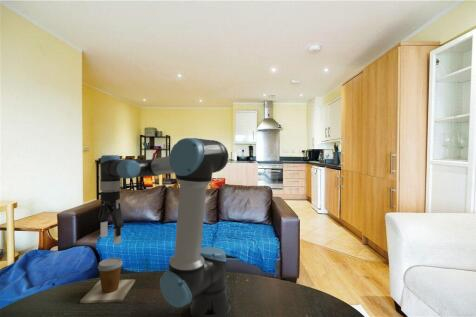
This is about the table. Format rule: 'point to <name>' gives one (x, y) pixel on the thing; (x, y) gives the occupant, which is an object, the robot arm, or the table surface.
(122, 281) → the wooden board
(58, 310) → the table surface
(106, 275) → the disposable coffee cup
